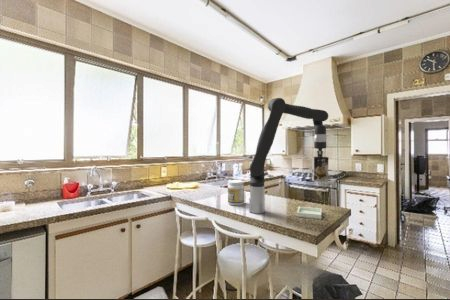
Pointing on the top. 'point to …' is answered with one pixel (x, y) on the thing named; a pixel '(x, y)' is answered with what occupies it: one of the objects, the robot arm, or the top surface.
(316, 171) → the coffee box
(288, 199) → the top surface
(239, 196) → the supplement tub
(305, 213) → the holder tray
